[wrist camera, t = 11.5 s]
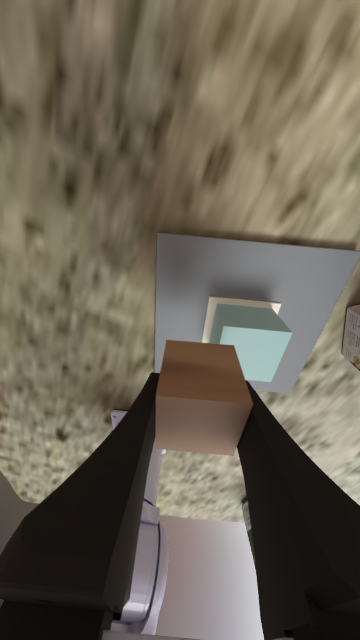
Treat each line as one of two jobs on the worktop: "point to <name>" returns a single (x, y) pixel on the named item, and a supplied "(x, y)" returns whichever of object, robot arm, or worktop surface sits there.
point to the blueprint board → (248, 291)
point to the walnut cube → (201, 398)
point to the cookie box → (352, 336)
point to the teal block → (252, 338)
